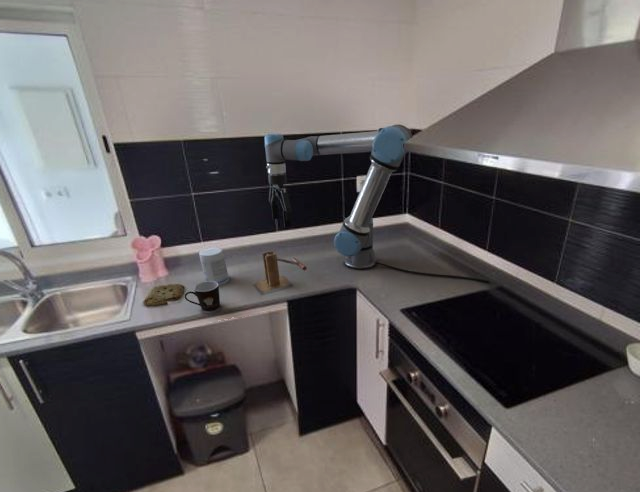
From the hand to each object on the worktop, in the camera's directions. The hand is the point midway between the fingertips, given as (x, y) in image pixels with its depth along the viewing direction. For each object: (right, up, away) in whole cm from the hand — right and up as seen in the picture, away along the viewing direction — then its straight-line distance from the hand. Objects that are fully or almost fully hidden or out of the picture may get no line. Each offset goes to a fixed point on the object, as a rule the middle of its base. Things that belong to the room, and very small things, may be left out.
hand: (281, 222), depth 170 cm
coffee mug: (-23, -38, -25) cm, 51 cm away
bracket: (-2, -29, -8) cm, 30 cm away
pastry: (-44, -34, -16) cm, 58 cm away
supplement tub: (-27, -27, -5) cm, 39 cm away
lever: (+3, -19, -10) cm, 22 cm away
